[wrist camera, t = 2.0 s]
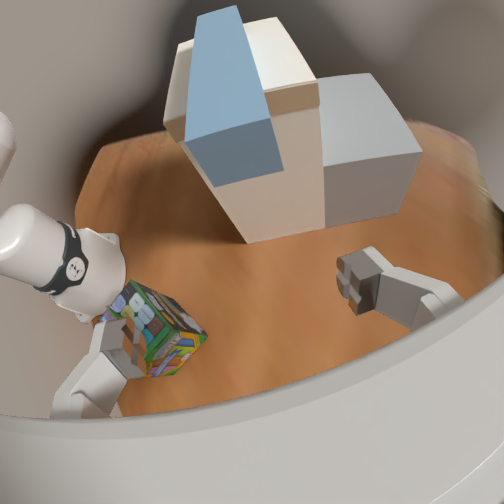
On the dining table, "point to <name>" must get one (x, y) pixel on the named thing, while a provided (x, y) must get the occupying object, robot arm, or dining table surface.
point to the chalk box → (158, 327)
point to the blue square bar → (228, 104)
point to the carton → (287, 135)
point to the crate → (363, 150)
